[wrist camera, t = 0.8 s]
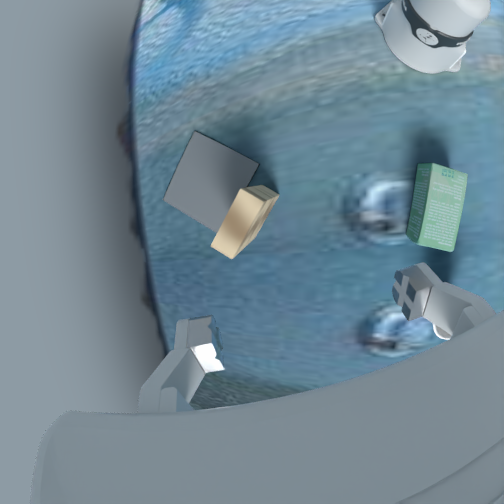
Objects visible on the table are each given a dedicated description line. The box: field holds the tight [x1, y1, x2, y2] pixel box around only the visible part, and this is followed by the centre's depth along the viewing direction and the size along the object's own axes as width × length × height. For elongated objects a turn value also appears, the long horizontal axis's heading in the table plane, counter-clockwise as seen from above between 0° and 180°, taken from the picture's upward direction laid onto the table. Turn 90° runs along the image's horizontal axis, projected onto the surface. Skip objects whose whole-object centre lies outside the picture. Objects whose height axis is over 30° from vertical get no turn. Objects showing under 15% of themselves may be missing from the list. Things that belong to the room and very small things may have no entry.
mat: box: [163, 131, 259, 233], centre depth 51 cm, size 15×14×1 cm
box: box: [406, 163, 467, 252], centre depth 39 cm, size 7×14×8 cm, turn 174°
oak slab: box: [211, 185, 279, 259], centre depth 44 cm, size 9×4×14 cm, turn 151°
